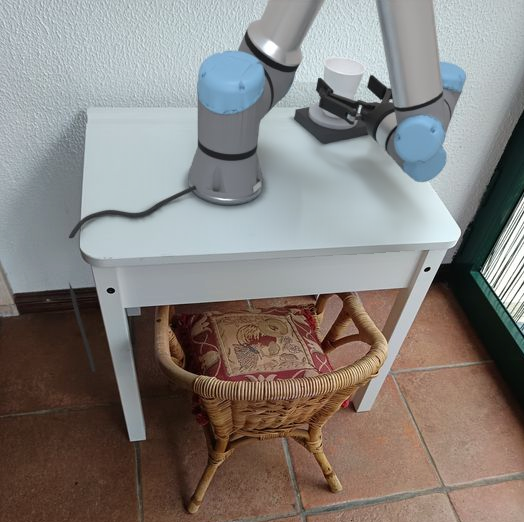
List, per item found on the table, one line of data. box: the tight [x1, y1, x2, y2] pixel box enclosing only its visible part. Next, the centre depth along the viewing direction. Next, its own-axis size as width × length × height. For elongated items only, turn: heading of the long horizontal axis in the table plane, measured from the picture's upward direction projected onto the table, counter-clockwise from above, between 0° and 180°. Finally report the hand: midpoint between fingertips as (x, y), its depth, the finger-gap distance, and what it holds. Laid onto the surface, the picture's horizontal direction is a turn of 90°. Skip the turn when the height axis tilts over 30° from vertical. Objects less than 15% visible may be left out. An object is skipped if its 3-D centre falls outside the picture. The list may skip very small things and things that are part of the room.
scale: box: [293, 101, 369, 145], centre depth 122 cm, size 14×13×3 cm
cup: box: [322, 56, 367, 118], centre depth 116 cm, size 10×10×11 cm
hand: (344, 82), depth 113 cm, fingers open, 13 cm apart
